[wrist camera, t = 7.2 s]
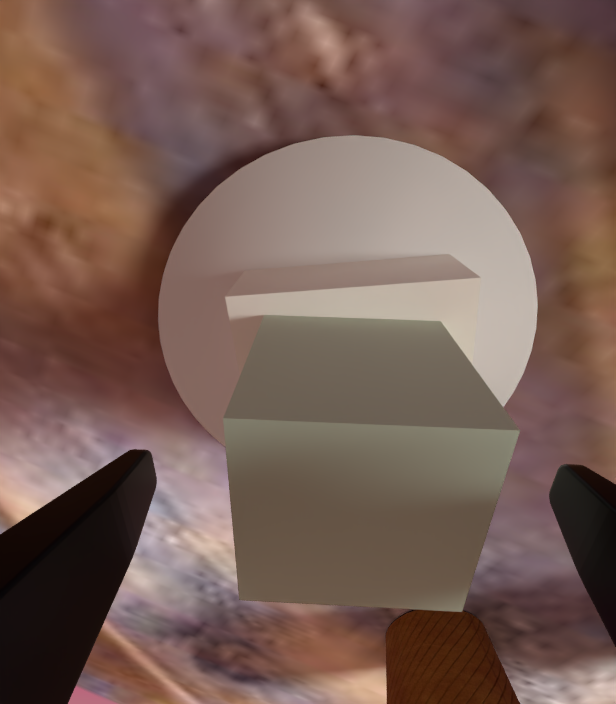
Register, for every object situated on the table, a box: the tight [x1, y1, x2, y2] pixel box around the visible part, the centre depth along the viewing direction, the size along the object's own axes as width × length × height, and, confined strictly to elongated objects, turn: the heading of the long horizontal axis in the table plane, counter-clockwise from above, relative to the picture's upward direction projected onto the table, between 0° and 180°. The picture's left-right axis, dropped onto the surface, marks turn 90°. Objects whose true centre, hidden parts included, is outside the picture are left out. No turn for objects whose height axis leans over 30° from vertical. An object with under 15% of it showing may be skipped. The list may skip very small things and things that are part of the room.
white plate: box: [158, 135, 538, 447], centre depth 15 cm, size 14×14×2 cm
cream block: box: [225, 254, 481, 375], centre depth 14 cm, size 7×7×3 cm
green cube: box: [223, 315, 520, 612], centre depth 10 cm, size 5×5×5 cm
